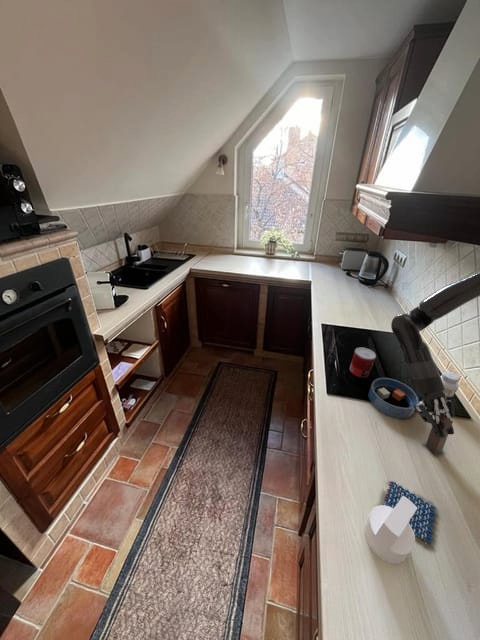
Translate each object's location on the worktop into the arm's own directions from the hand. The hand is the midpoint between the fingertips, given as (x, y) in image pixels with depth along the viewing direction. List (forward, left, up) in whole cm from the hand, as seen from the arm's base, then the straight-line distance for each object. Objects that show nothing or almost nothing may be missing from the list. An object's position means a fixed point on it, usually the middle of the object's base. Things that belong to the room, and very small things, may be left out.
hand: (445, 435), depth 74 cm
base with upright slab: (+13, +32, -9) cm, 35 cm away
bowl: (+12, -15, -8) cm, 21 cm away
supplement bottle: (-4, -25, -9) cm, 27 cm away
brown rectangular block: (0, 0, -8) cm, 8 cm away
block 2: (+10, -19, -8) cm, 23 cm away
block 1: (+15, -17, -8) cm, 24 cm away
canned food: (+24, -27, -9) cm, 38 cm away
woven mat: (+8, +23, -9) cm, 26 cm away
